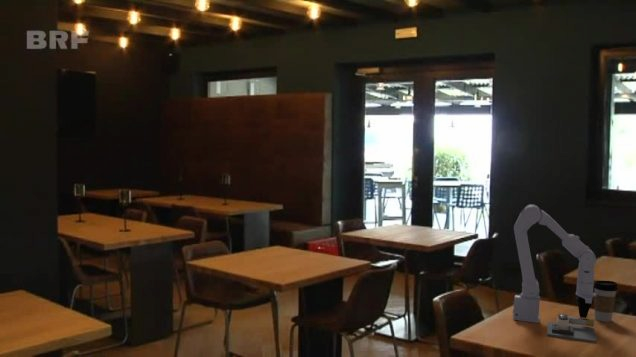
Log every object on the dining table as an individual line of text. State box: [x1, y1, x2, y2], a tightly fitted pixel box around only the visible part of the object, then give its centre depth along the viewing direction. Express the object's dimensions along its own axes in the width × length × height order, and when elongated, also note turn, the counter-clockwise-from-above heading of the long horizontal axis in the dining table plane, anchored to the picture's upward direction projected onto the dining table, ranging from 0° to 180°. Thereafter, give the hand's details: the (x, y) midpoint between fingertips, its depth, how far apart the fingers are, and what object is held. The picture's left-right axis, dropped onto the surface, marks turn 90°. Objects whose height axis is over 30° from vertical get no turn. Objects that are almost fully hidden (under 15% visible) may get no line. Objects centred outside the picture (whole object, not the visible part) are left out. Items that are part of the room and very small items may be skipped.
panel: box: [546, 320, 598, 344], centre depth 221 cm, size 16×16×2 cm
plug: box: [555, 315, 570, 331], centre depth 220 cm, size 5×5×5 cm
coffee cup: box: [593, 280, 618, 323], centre depth 238 cm, size 8×8×15 cm
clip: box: [557, 313, 595, 328], centre depth 225 cm, size 12×3×2 cm, turn 69°
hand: (583, 317), depth 229 cm, fingers closed
